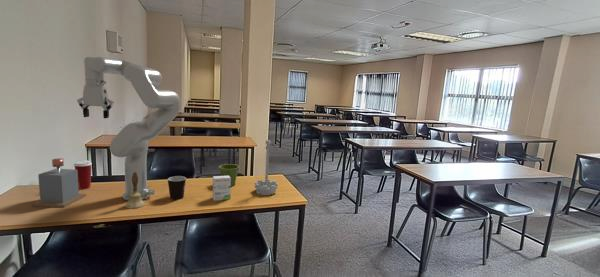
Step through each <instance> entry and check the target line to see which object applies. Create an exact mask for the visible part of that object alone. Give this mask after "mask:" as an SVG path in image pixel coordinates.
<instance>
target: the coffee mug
mask: <svg viewBox="0 0 600 277" xmlns="http://www.w3.org/2000/svg"><path fill="white" fill-rule="evenodd" d="M186 180H187V177H185V176H182V175H175V176H170V177H168V178H167V186H168V192H169V199H171V200H173V201H175V200H176V201H177V200H181V199H183V198H185V188H186Z"/></svg>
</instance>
